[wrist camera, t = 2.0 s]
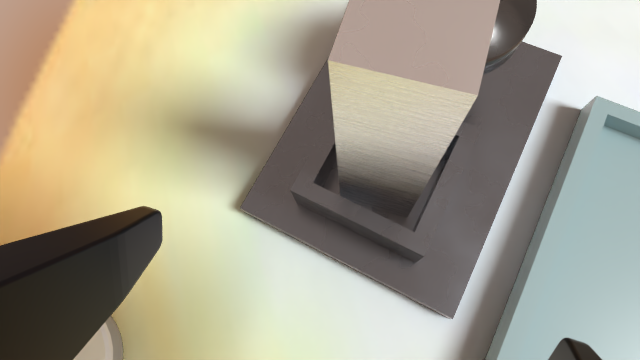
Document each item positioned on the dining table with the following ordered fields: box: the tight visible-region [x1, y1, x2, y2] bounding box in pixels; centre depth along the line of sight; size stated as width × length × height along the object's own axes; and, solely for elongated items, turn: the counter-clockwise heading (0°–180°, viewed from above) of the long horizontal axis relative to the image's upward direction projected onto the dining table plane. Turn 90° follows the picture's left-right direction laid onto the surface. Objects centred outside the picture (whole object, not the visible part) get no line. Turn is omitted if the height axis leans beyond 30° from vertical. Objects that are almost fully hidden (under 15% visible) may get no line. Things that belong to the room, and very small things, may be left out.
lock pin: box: [328, 0, 500, 217], centre depth 16 cm, size 4×4×12 cm
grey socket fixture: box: [240, 0, 562, 319], centre depth 20 cm, size 16×12×7 cm
